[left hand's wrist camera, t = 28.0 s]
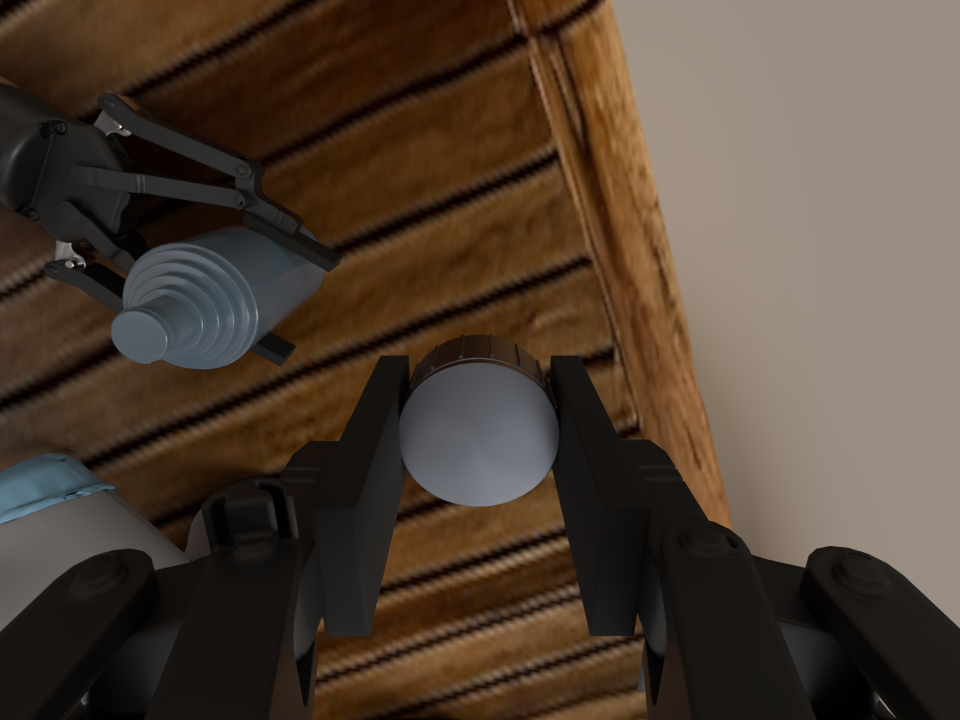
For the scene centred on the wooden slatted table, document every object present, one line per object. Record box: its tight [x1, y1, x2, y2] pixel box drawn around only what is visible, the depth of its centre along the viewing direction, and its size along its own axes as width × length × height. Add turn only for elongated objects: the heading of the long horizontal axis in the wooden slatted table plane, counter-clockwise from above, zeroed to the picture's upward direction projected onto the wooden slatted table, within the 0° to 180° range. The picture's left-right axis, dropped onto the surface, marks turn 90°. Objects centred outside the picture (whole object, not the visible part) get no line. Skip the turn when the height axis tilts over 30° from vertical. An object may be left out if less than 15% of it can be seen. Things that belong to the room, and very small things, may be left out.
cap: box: [399, 334, 560, 507], centre depth 14 cm, size 4×4×2 cm
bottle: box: [111, 223, 325, 369], centre depth 35 cm, size 8×8×20 cm
